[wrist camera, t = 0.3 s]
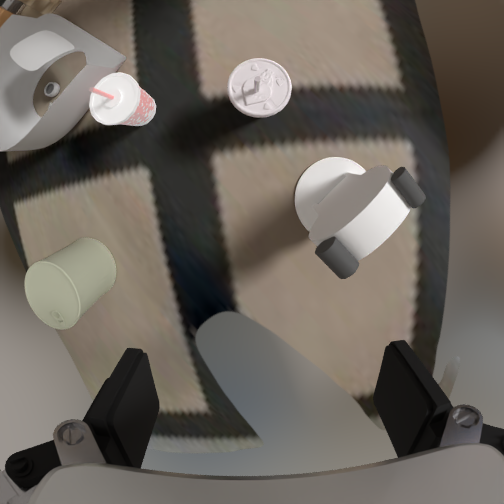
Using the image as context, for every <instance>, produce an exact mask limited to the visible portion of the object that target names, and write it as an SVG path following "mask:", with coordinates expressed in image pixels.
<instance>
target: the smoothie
mask: <svg viewBox="0 0 504 504" xmlns="http://www.w3.org/2000/svg"><path fill="white" fill-rule="evenodd" d="M227 88H228V96H229V98H230V100H231V102H232V104H233V105H234V106H235V108H236V109H238V110H239V111H240V112H242V113H243V114H246V115H248V116H251V117H257V118H260V117H268V116H271V115H274V114H276V113H278V112H279V111H281V110H282V109H283V108H284V107H285V105H286V104H287V102H288V100H289V98H290V95H291V89H292V86H291V80H290V77H289V75H288V73H287V72H286V70H285V69H284V68H283V67H282V66H280V65H279V64H278V63H276V62H274V61H272V60H269V59H264V58H254V59H249V60H246V61H244V62H242V63H241V64H239V65H238V66H237V67H236V68H235V69H234V70H233V71H232V73H231V75H230V77H229V80H228V87H227Z"/></svg>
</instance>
